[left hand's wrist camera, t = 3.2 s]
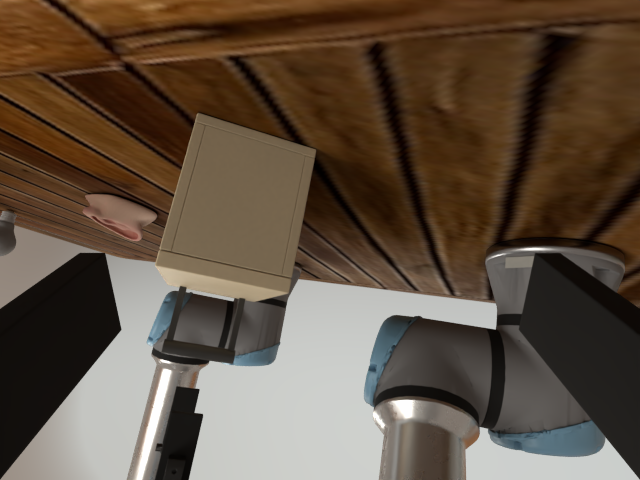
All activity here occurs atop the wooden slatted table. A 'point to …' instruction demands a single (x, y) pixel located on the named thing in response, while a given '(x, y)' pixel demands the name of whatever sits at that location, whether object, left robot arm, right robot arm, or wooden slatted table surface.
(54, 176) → the wooden slatted table surface
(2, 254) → the light bulb
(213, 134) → the chest
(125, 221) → the anatomical model
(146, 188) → the wooden slatted table surface
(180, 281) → the lid
